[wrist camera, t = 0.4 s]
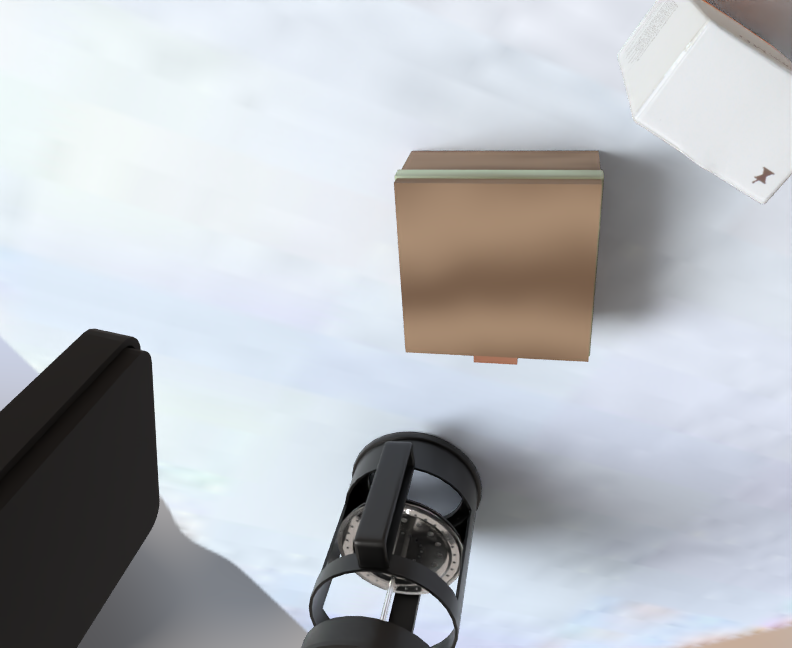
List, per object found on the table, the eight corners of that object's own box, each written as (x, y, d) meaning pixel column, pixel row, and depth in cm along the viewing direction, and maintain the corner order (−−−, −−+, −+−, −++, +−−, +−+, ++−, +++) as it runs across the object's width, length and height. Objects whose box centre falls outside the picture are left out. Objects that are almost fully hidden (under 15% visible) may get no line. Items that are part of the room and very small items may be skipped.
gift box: (409, 149, 41) (391, 181, 37) (600, 148, 39) (604, 182, 35) (419, 318, 47) (404, 362, 43) (587, 325, 45) (589, 372, 41)
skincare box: (775, 43, 35) (857, 113, 25) (712, 119, 38) (764, 212, 28) (669, -28, 35) (710, 15, 25) (611, 54, 37) (627, 124, 27)
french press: (486, 540, 56) (442, 895, 37) (364, 532, 58) (262, 865, 39) (476, 413, 50) (418, 757, 31) (340, 410, 52) (206, 729, 33)
